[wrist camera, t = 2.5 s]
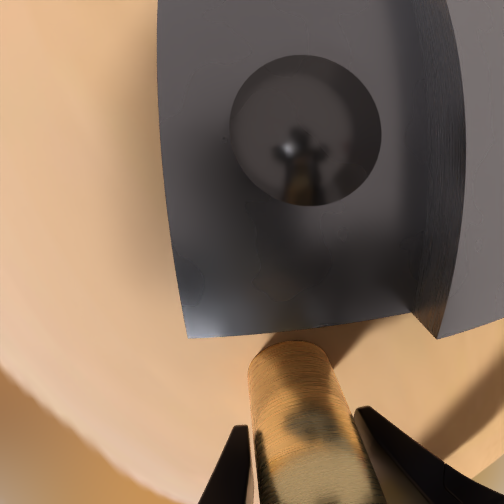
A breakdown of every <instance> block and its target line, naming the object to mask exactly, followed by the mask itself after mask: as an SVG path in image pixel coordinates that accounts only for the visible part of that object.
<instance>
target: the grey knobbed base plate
mask: <svg viewBox="0 0 504 504" xmlns="http://www.w3.org/2000/svg"><path fill="white" fill-rule="evenodd" d="M157 83H158V108H159V126H160V141H161V154H162V165H163V176H164V186H165V195H166V204H167V213H168V221H169V228H170V236H171V243H172V250H173V257H174V263H175V270H176V276H177V282H178V288H179V294H180V300H181V305H182V311H183V316H184V321H185V326H186V331H187V336H188V338H209V337H225V336H239V335H252V334H263V333H274V332H284V331H293V330H302V329H310V328H318V327H325V326H333V325H340V324H347V323H353V322H360V321H366V320H372V319H378V318H384V317H389V316H395V315H400V314H405V313H410V312H411V313H412V314H413V315H414V316H415V317H416V318H417V319H418V320H419V321H420V322H421V323H422V324H423V325H424V326H425V328H426V329H427V330H428V331H429V332H430V333H431V334H432V335H433V336H434V337H435V338H436V339H441V338H444V337H448V336H451V335H454V334H458V333H461V332H464V331H467V330H470V329H473V328H476V327H479V326H482V325H485V324H488V323H491V322H493V321H496V320H499V319H502V318H504V0H158V12H157Z"/></svg>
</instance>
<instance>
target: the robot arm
mask: <svg viewBox="0 0 504 504" xmlns="http://www.w3.org/2000/svg"><path fill="white" fill-rule="evenodd" d="M353 419H354V421H355V423H356V426H357V428H358V431H359V433H360V436H361V438H362V441H363V443H364V446H365V448H366V450H367V453H368V455H369V458H370V460H371V463H372V466H373V468H374V471H375V473H376V476H377V478H378V481H379V483H380V486H381V489H382V491H383V494H384V496H385V499H386V502H387V504H504V495H503V494H500V493H498V492H496V491H493V490H492V489H489V488H487V487H485V486H483V485H481V484H479V483H477V482H475V481H473V480H471V479H470V478H468V477H466V476H464V475H463V474H461V473H460V472H458V471H456V470H455V469H453V468H452V467H451V466H449V465H448V464H446V463H445V464H444V462H443V461H442V460H441V459H439V458H438V457H436V456H435V455H434V454H432V453H431V452H430V451H428V450H427V449H425V448H424V447H423V446H421V445H420V444H419V443H417V442H416V441H415V440H413V439H412V438H411V437H409V436H408V435H407V434H405V433H404V432H403V431H401V430H400V429H399V428H397V427H396V426H395V425H393V424H392V423H391V422H390V421H388V420H387V419H386V418H384V417H383V416H382V415H380V414H379V413H378V412H377V411H375V410H374V409H373V408H372V407H370V406H363V407H359V408H357V409H356V411H355V414H354V417H353ZM253 498H254V479H253V469H252V459H251V448H250V438H249V430H248V426H247V425H236V426H234V427H233V429H232V431H231V433H230V436H229V438H228V440H227V443H226V445H225V447H224V449H223V451H222V454H221V456H220V458H219V460H218V462H217V465H216V467H215V469H214V471H213V473H212V475H211V477H210V480H209V482H208V484H207V486H206V488H205V490H204V492H203V494H202V496H201V498H200V500H199V502H198V504H253Z"/></svg>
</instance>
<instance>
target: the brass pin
mask: <svg viewBox="0 0 504 504" xmlns="http://www.w3.org/2000/svg"><path fill="white" fill-rule="evenodd" d="M248 386H249V397H250V408H251V418H252V429H253V439H254V450H255V460H256V470H257V479H258V489H259V498H260V504H387V502H386V499H385V496H384V494H383V491H382V489H381V486H380V483H379V481H378V478H377V476H376V473H375V471H374V468H373V466H372V463H371V460H370V458H369V455H368V453H367V450H366V448H365V446H364V443H363V441H362V438H361V436H360V433H359V431H358V428H357V426H356V423H355V421H354V419H353V416H352V414H351V411H350V409H349V407H348V404H347V402H346V399H345V397H344V395H343V392H342V390H341V388H340V385H339V383H338V381H337V378H336V376H335V374H334V371H333V369H332V367H331V364H330V362H329V360H328V357H327V355H326V353H325V352H324V351H323V350H322V349H321V348H320V347H318V346H317V345H315V344H313V343H310V342H306V341H297V340H294V341H285V342H281V343H277V344H275V345H272V346H270V347H268V348H266V349H265V350H263V351H262V352H260V353H259V354H258V355H257V356H256V357H255V358H254V360H253V361H252V362H251V364H250V366H249V369H248Z"/></svg>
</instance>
